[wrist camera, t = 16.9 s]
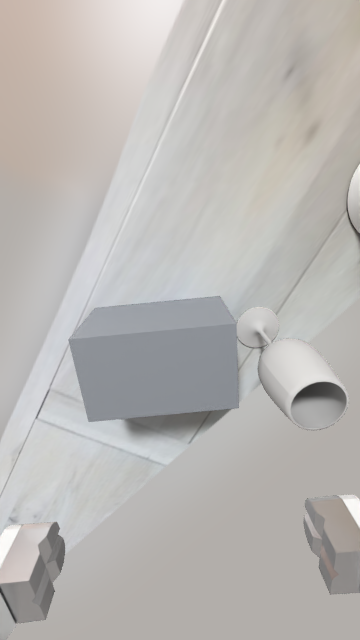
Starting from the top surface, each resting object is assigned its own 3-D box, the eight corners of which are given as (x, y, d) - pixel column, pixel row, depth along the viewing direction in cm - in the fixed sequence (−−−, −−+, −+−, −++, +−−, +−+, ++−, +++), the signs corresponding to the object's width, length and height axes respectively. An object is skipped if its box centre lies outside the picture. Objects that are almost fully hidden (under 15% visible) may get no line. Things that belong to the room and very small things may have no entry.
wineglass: (266, 353, 49) (331, 445, 29) (227, 339, 48) (265, 424, 28) (288, 315, 47) (373, 386, 27) (246, 299, 45) (304, 360, 26)
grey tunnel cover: (219, 296, 45) (236, 323, 33) (222, 362, 49) (238, 407, 37) (95, 308, 45) (68, 339, 34) (108, 373, 49) (88, 421, 38)
